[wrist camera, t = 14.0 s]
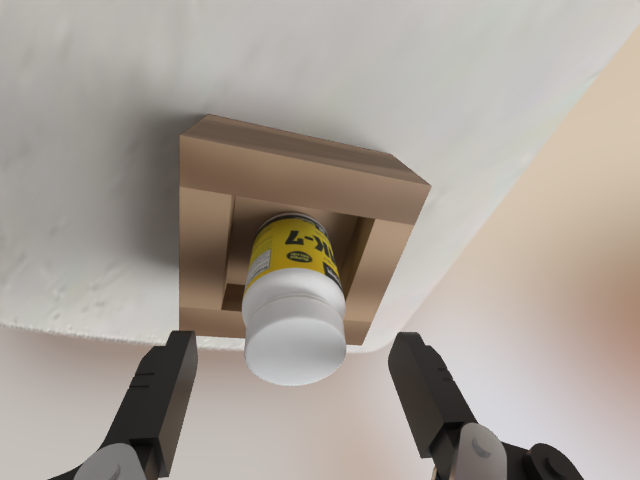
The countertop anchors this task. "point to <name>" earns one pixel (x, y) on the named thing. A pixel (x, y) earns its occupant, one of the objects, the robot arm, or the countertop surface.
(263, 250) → the supplement bottle
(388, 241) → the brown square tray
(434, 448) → the robot arm
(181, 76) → the countertop surface
